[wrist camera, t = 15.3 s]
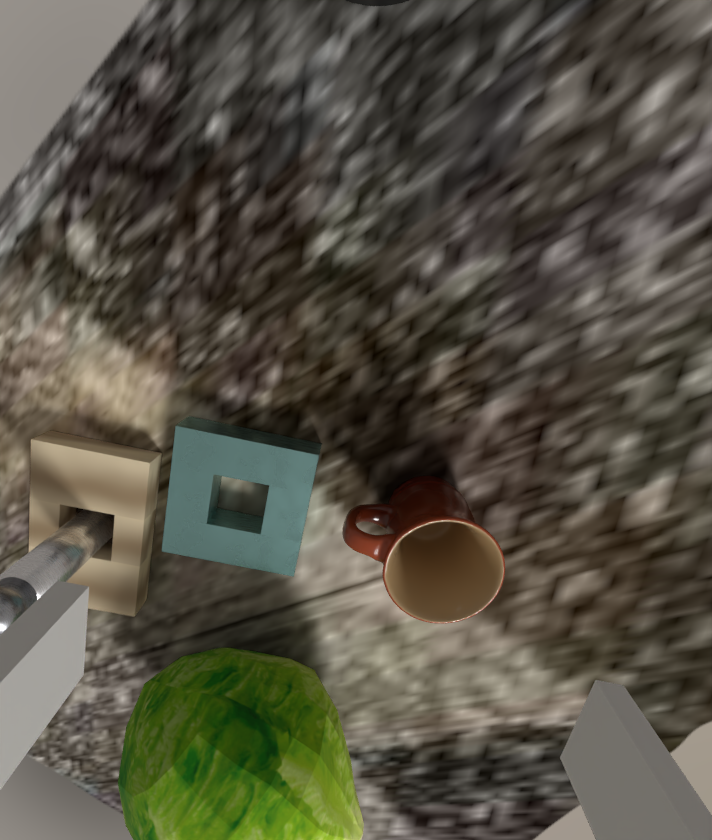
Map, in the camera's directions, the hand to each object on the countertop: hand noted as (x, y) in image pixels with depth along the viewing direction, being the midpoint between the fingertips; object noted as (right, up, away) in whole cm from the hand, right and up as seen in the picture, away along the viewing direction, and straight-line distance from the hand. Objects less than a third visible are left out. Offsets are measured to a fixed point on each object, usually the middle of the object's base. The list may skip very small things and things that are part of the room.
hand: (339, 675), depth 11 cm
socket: (-10, 0, +30) cm, 31 cm away
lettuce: (-9, -22, +36) cm, 43 cm away
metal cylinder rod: (-24, -3, +31) cm, 39 cm away
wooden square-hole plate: (-24, -3, +31) cm, 39 cm away
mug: (+5, -1, +30) cm, 31 cm away
